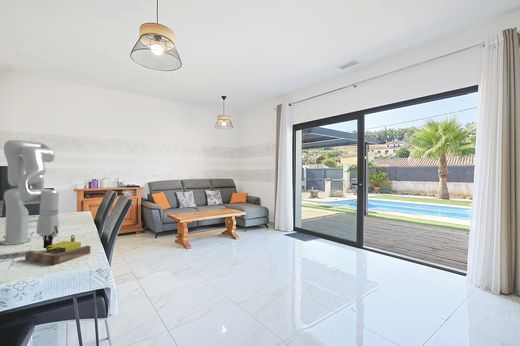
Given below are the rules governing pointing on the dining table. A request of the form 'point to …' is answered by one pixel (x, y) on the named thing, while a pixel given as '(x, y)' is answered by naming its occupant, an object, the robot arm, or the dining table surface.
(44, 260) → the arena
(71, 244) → the bracket
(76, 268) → the dining table surface
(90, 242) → the dining table surface
